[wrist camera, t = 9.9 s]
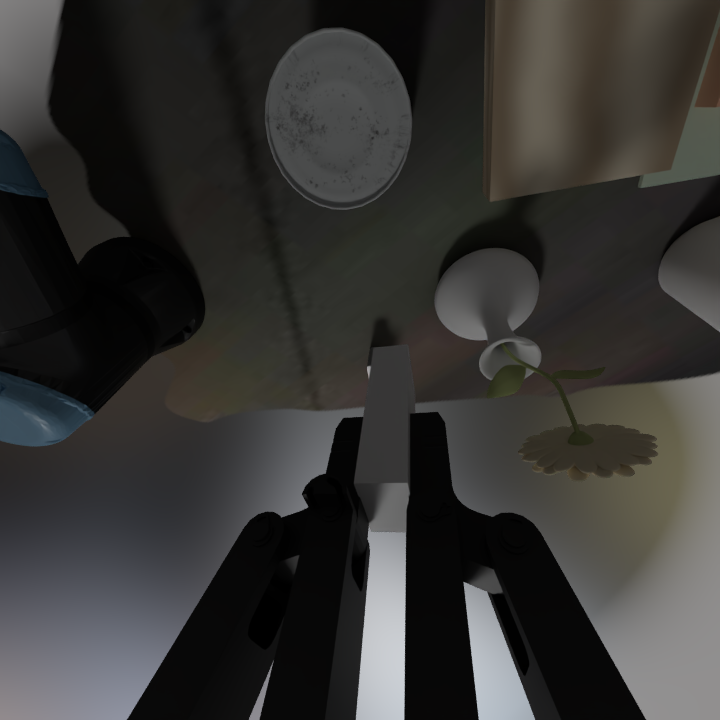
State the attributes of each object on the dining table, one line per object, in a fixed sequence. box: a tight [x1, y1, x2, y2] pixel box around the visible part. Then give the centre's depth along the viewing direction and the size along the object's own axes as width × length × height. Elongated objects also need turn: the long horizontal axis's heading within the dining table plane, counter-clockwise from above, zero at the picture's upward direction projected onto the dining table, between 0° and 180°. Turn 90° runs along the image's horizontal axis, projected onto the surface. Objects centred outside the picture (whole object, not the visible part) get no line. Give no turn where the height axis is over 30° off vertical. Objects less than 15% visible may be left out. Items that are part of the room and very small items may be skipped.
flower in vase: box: [434, 248, 658, 482], centre depth 30 cm, size 13×11×25 cm
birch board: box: [483, 0, 720, 202], centre depth 26 cm, size 14×14×4 cm
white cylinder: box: [265, 27, 412, 209], centre depth 26 cm, size 10×10×12 cm
